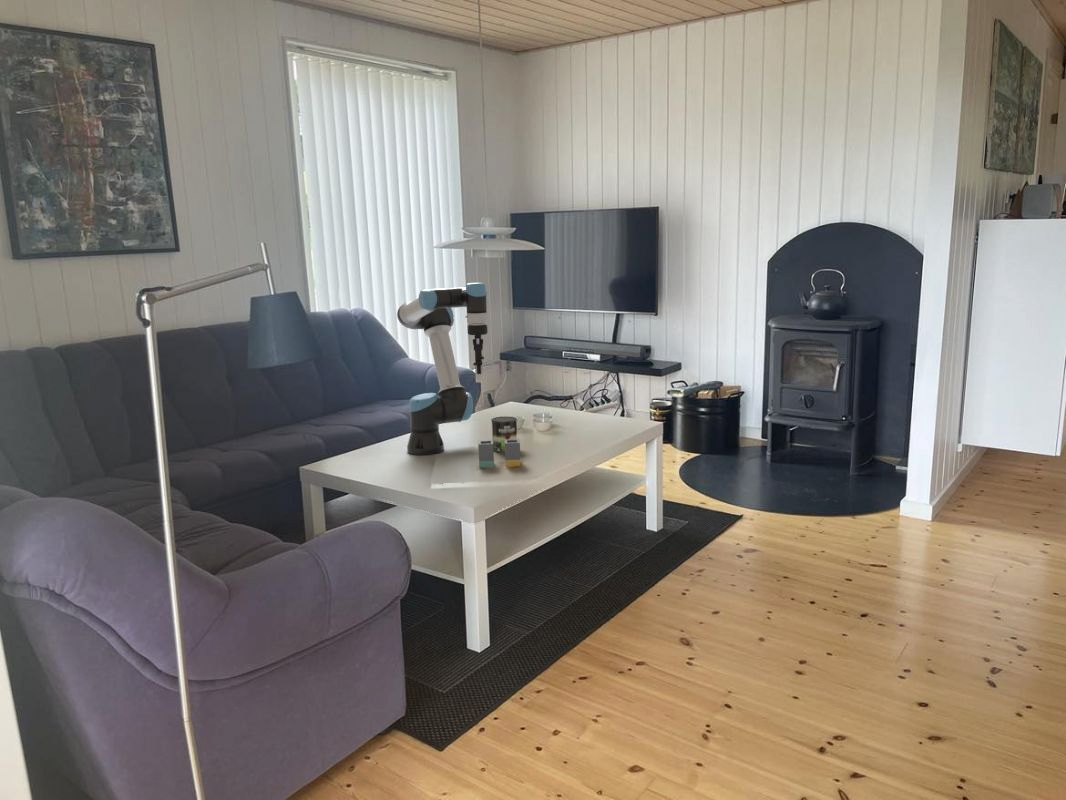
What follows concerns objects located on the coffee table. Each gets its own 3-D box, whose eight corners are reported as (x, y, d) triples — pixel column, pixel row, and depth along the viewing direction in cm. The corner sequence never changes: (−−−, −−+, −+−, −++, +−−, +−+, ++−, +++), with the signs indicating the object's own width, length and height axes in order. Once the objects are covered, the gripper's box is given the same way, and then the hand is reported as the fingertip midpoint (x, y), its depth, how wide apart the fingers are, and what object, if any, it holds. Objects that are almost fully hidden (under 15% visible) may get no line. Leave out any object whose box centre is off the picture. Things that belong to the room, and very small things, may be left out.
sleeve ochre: (505, 462, 312) (504, 439, 310) (519, 462, 312) (519, 439, 310) (505, 466, 306) (504, 443, 304) (520, 466, 306) (519, 442, 305)
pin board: (476, 473, 304) (475, 451, 302) (476, 466, 313) (475, 444, 312) (524, 471, 305) (523, 449, 303) (523, 464, 314) (522, 442, 313)
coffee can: (520, 454, 329) (519, 420, 326) (495, 457, 326) (494, 422, 323) (514, 448, 338) (513, 415, 336) (490, 450, 336) (488, 417, 333)
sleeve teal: (479, 467, 306) (478, 444, 304) (479, 463, 311) (478, 440, 309) (494, 467, 306) (493, 443, 304) (493, 463, 311) (493, 440, 310)
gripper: (468, 321, 321) (470, 374, 325) (466, 327, 297) (469, 385, 301) (487, 320, 322) (489, 373, 326) (487, 327, 297) (489, 384, 301)
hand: (479, 379), depth 313 cm, fingers open, 13 cm apart
